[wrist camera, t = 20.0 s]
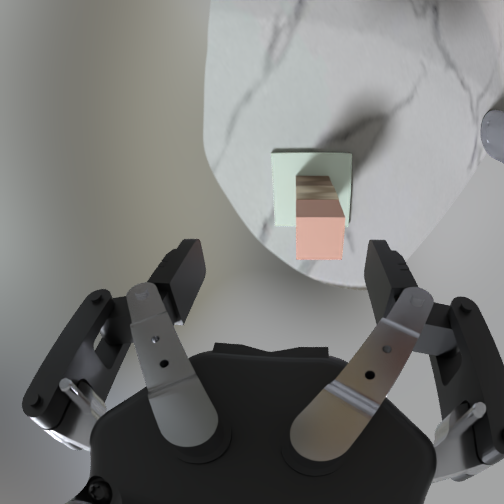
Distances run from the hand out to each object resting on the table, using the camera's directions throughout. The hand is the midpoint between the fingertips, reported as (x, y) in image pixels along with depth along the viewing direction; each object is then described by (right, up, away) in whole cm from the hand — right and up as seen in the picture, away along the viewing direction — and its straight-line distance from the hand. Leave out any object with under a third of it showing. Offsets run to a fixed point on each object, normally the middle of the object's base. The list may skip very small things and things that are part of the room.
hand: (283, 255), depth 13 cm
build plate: (+8, +10, +28) cm, 31 cm away
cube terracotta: (+6, +4, +19) cm, 21 cm away
